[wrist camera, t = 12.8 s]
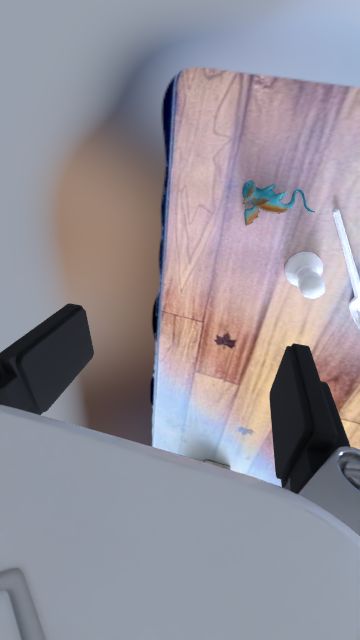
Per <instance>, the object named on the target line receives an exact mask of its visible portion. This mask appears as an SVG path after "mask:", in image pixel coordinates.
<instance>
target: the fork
mask: <svg viewBox="0 0 360 640" xmlns="http://www.w3.org/2000/svg"><path fill="white" fill-rule="evenodd" d="M332 213H333V216H334V220H335V224H336V228H337V231H338V235H339V239H340V242H341V246H342V250H343V253H344V257H345V261H346V265H347V268H348V272H349V276H350V279H351V283H352V287H353V291H354V294H355V296H354V298H353V299H352V300H351V301H350V303H349V310H350V312H351V314H352V317H353V319H354V321H355V322H356V324H357V326H358V328H359V329H360V321H359V317H358V314H357V310H358V311H359V313H360V279H359V276H358V272H357V269H356V266H355V262H354V259H353V256H352V252H351V249H350V246H349V242H348V239H347V236H346V232H345V229H344V225H343V222H342V218H341V215H340V211H339V209H338V208H337V209H335V210H333V211H332Z"/></svg>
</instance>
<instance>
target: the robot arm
mask: <svg viewBox="0 0 360 640" xmlns="http://www.w3.org/2000/svg"><path fill="white" fill-rule="evenodd" d="M93 354H94V351H93V346H92V341H91V336H90V331H89V326H88V321H87V316H86V311H85V310H84V309H83V307H82V306H80V305H75V304H67V305H66V306H64V307H63V308H62V309H60V310H59V311H57V312H56V313H55V314H53V315H52V316H51V317H49V318H48V319H46V320H45V321H44V322H42V323H41V324H39V325H38V326H37V327H35V328H34V329H33V330H31V331H30V332H28V333H27V334H26V335H25V336H23V337H21V338H20V339H19V340H17V341H16V342H14V343H13V344H12V345H10V346H9V347H8V348H6V349H5V350H3V351H2V352H1V353H0V640H360V450H359V449H356V448H353V447H350V444H349V441H348V438H347V436H346V433H345V430H344V427H343V425H342V422H341V419H340V416H339V413H338V411H337V408H336V405H335V402H334V400H333V397H332V394H331V391H330V388H329V386H328V384H327V383H326V382H322V381H320V378H319V375H318V372H317V369H316V366H315V363H314V360H313V357H312V354H311V351H310V348H309V346H305V345H299V344H293V345H292V346H287V347H286V350H285V353H284V355H283V358H282V361H281V363H280V366H279V369H278V371H277V374H276V377H275V380H274V382H273V385H272V388H271V391H270V409H271V421H272V433H273V446H274V458H275V471H276V477H277V478H279V479H281V483H282V487H280V486H277V485H274V484H271V483H268V482H266V481H263V480H260V479H257V478H254V477H251V476H248V475H245V474H241V473H238V472H235V471H232V470H228V469H225V468H222V467H219V466H215V465H212V464H209V463H205V462H202V461H199V460H195V459H192V458H188V457H185V456H181V455H178V454H174V453H171V452H168V451H164V450H161V449H157V448H154V447H150V446H147V445H143V444H140V443H136V442H133V441H129V440H126V439H122V438H119V437H115V436H112V435H108V434H105V433H101V432H98V431H94V430H91V429H87V428H83V427H80V426H77V425H73V424H70V423H66V422H63V421H59V420H55V419H52V418H48V417H45V416H41V414H42V413H43V412H46V411H47V410H48V409H49V408H50V407H51V405H52V404H53V403H54V402H55V401H56V400H57V399H58V397H59V396H60V395H61V394H62V393H63V392H64V390H65V389H66V388H67V387H68V386H69V384H70V383H71V382H72V381H73V380H74V379H75V377H76V376H77V375H78V374H79V373H80V372H81V370H82V369H83V368H84V367H85V366H86V365H87V363H88V362H89V361H90V360H91V359H92V357H93Z"/></svg>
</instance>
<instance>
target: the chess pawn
mask: <svg viewBox="0 0 360 640" xmlns="http://www.w3.org/2000/svg"><path fill="white" fill-rule="evenodd" d="M284 270H285V275H286V278H287V280H288V281H289V282H290V283H291V284H293V285H296V286H299V288H300V291H301V293H302V294H303V296H305V297H306V298H310V299H314V298H318V297H320V296H321V295H322V294H323V293H324V291H325V288H326V285H325V282H324V281H323V279H322V277H321V274H322V271H323V264H322V261H321V260H320V259H319V257H318V256H317V255H315V254H314V253H312V252H305V251H304V252H299V253H297V254H294V255H293V256H292V257H290V258H289V260H288V261H287V263H286V265H285V269H284Z"/></svg>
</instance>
